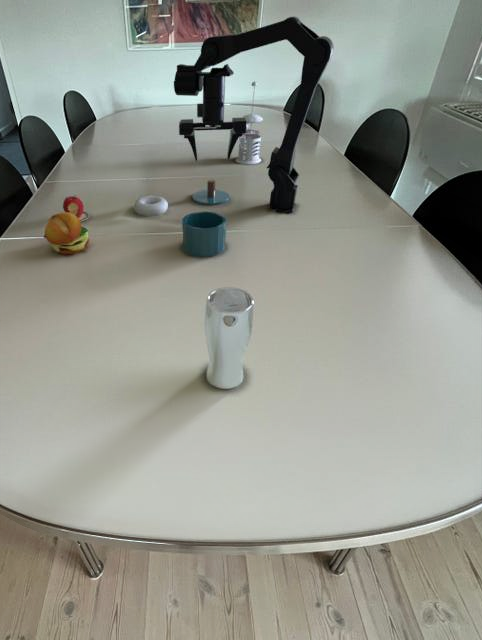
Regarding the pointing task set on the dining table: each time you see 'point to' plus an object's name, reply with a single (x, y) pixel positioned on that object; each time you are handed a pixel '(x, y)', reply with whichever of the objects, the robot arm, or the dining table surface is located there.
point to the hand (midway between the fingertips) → (212, 159)
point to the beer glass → (227, 334)
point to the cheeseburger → (66, 233)
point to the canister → (204, 234)
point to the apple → (75, 207)
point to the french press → (250, 140)
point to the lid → (211, 195)
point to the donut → (150, 206)
